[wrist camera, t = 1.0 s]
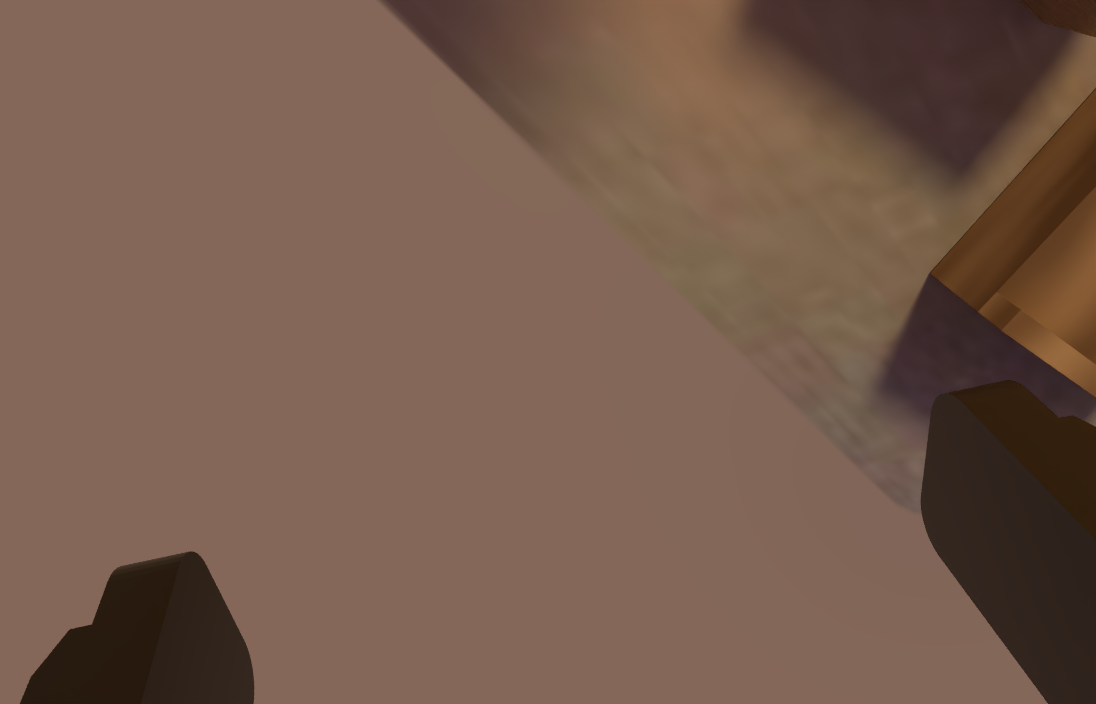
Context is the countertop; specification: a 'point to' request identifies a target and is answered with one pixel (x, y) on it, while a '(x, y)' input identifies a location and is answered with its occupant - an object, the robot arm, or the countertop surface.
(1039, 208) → the stand
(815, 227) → the countertop surface
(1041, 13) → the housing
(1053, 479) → the robot arm
